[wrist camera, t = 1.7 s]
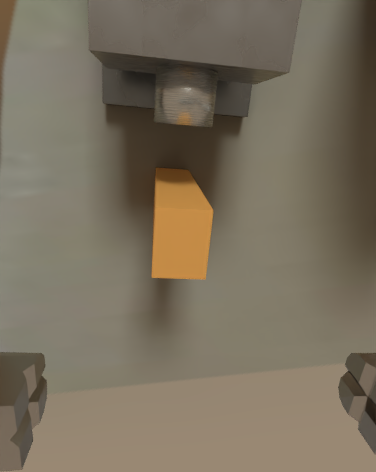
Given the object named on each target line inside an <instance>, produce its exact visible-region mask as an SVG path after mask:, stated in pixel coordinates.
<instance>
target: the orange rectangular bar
mask: <svg viewBox="0 0 376 472" xmlns="http://www.w3.org/2000/svg"><path fill="white" fill-rule="evenodd" d="M212 219H213V209H212V207H211V206H210V204H209V203H208V201H207V199H206V198H205V196H204V194H203V193H202V191H201V190H200V188H199V186H198V185H197V183H196V182H195V180H194V178H193V177H192V175H191V173H190V172H189V170H185V169H171V168H157V167H156V174H155V194H154V217H153V250H152V278H176V279H206V271H207V262H208V254H209V245H210V236H211V228H212Z"/></svg>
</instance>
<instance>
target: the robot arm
mask: <svg viewBox="0 0 376 472" xmlns="http://www.w3.org/2000/svg"><path fill="white" fill-rule="evenodd" d="M345 365H346V368H347V370H348V371H347V372H346V373H345V374H344V375H343V376H342V377H341V379H340V383H339V387H338V388H339V397H340V400H341V402H342V405H343V407H344V409H345V410H346V412H347V413H348V415H350V416H351V417H353V418H354V419H355V420H357V421H358V422H359V425H358V426H359V427H358V430H359V431H360V433H361V434H362V436H363V437H364V439H365V440H366V442H367V443H368V445H369V446H370V448H371V449H372V451H373V452H374V454H376V353H351V354H350V355H349V356H348V357H347V360H346V363H345ZM44 368H45V358H44V355H43V354H42V353H17V352H0V471H12V470H22V468H23V465H24V463H25V460H26V458H27V455H28V453H29V450H30V447H31V445H32V442H33V434H32V429H33V428H34V427H35V426H36V425H37V424H39V423H40V421H41V418H42V415H43V412H44V408H45V403H46V399H47V380H46V379H45V378H44V377H43V376H42V373H43V371H44Z"/></svg>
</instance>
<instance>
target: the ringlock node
mask: <svg viewBox="0 0 376 472" xmlns="http://www.w3.org/2000/svg"><path fill="white" fill-rule="evenodd" d="M301 2H302V0H88V21H89V50H90V51H91V52H92V53H93V55H94V56H95V57H96V58H97V59H98V60H99V61H100V62H101V63H102V70H103V103H104V104H110V105H121V106H132V107H142V108H153V109H154V122H158V123H168V124H179V125H190V126H202V127H212V126H213V116H214V114H217V115H228V116H238V117H248V109H249V102H250V95H251V88H252V84H258V83H260V82H263V81H266V80H269V79H272V78H275V77H278V76H281V75H283V74H286V73H289V71H290V65H291V59H292V54H293V48H294V42H295V36H296V30H297V25H298V19H299V13H300V7H301Z"/></svg>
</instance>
